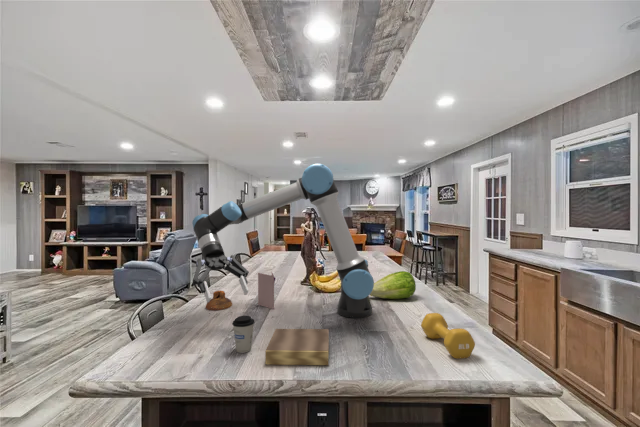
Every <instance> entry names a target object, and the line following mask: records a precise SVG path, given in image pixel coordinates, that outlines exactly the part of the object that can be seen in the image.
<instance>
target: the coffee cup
mask: <svg viewBox="0 0 640 427" xmlns="http://www.w3.org/2000/svg"><path fill="white" fill-rule="evenodd" d="M255 322H256V321H255V319H254V318H253V317H251V316H250V315H240V316H237V317H236V318H234V320H233V321H232V323H231V324H232V328H233V335H234V343H235V350H236V353H238V354H239V353H240V354H242V353H243V354H246V353H249V352H250V351H251V350H252V345H253V344H252V343H253V335H254V326H255V325H254V324H256V323H255Z"/></svg>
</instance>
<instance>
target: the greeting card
mask: <svg viewBox="0 0 640 427" xmlns="http://www.w3.org/2000/svg"><path fill="white" fill-rule="evenodd" d="M275 281H276V277H275V276H274V273H273V272H271V274H265V273H263V272H262V273H261V272H258V273H257V294H258V295H257V304H258V306H262V307H266V308H268V309H272V310H275Z"/></svg>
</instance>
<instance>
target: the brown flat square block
mask: <svg viewBox="0 0 640 427" xmlns="http://www.w3.org/2000/svg"><path fill="white" fill-rule="evenodd" d="M329 332H330V330H329V328H275V329H274V331H273V334H272V336H271V338H270V341H269V342H268V345H267V347H266V348H265V354H264V355H265V356H264V358H265V365H270V366H271V365H273V366H274V365H276V366H277V365H280V366H281V365H283V366H284V365H285V366H286V365H287V366H291V365H292V366H329V356H330V355H329V354H330V353H329V346H330V345H329V344H330V341H329V339H330V337H329V336H330V333H329Z"/></svg>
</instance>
